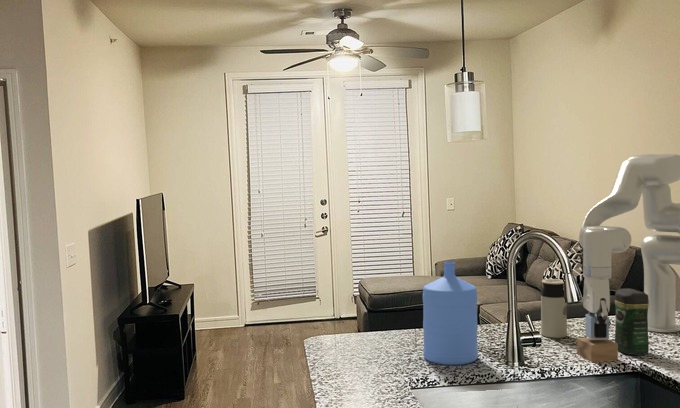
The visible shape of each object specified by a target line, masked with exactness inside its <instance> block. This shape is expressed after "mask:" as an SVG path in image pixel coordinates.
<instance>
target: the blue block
mask: <svg viewBox="0 0 680 408" xmlns="http://www.w3.org/2000/svg"><path fill="white" fill-rule="evenodd" d="M599 316H601V315H598V318H599ZM594 323H596V320H595V314H588V313H585V336H586V337H587V338H590V339H609V340H610V317H609V316H607V336H606V338H596V337H595V336H594Z"/></svg>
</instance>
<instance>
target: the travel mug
mask: <svg viewBox="0 0 680 408" xmlns="http://www.w3.org/2000/svg"><path fill="white" fill-rule="evenodd" d="M563 280H564V279H559V278H558V279H557V278H546V279H545V278H544V279H542V280H541V283H542V287H541V290H540V328H541V329H540V330H541V331H540V334H541V336H543V337H545V338H549V339H562V338H565V337H567V335H568V303H567V304H566V303H565V299H564V290H563Z"/></svg>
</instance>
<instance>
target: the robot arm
mask: <svg viewBox="0 0 680 408" xmlns="http://www.w3.org/2000/svg"><path fill="white" fill-rule="evenodd" d="M678 181H680V154H678V153H661V154H659V153H658V154H654V153H653V154H651V153H650V154H637V155H633V156H630V157H629V158H627V159H626V160H624V161H623V162H622V163H621V164H620V166H619V168H618V171H617V173H616V175H615V179H614V182H613V183H612V187H611V190H610V192H609V195H608V196H606V197H605V198H604V199H602V200H600V201H599V202H598V203H596V205H594V206H593V207H592V208H591V209H590V210H589V211H588V212H587V213H586V215H585V217H584V219H583V222H582V224H581V228H580V229H579V230H580V231H579V233H578V242H579V245H580V246H581V248H582V249H583V252H582V253H583V254H582V258H583V259H582V261H583V264H582V265H583V267H582V268H583V269H582V272H583V274H582V275H583V276H582V277H583V278H584V280H583V293H582V294H583V295H582V296H583V297H582V306H583V308H584V309H585V310H586V311H587V312H588V313H587V314H595V320H596V323H594V336H595V337H596V338H606V336H607V317H609V312H610V310H611V309H610V308H611V291H610V281H609V279H611V278H612V253H616V254H617V253H618V254H619V253H623V252H626V251H627V250H629V248H630V246H631V243H632V234H630V231H629V230H628V229H627V228H624V227H621V226H609V225H602V224H603V223H604V222H606V221H607V220H610V219H611V218H615V217H616V216H620V215H623V214H625V213H629V212H631V211H633V210H635V209H636V208H637V207H638V205H639V202H640V199H641V197H642V208H643V221H644V225H645V227H646V229H648V230H650V231H653V232H660V233H661V232H662V233H677V234H679V235H672V234H651V235H647V236H645V237H644V238H643V239H642V241H641V244H640V251H641V256H642V262H643V292H644V293H645V294H647V295H648V299H649V307H648V332H654V333H677V332H679V331H680V325H679V324H677V323H676V302H677V301H676V299H677V298H676V297H677V296H676V294H677V293H676V291H677V290H676V282H677V280H676V275H675V273H674V271H673V270H672V268H671V267H670V265H677V266H678V265H679V266H680V203H678V202H677V203H676V202H673V201H672V193H671V191H672V190H671V186H670V184H673V183H675V182H678ZM600 311H601V312H600ZM598 315H601V316H599V318H598Z"/></svg>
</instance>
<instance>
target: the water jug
mask: <svg viewBox="0 0 680 408" xmlns="http://www.w3.org/2000/svg"><path fill="white" fill-rule="evenodd" d="M443 264H444V267H443V273H444V274H443V276H442V277H440V278H438V279H435V280H433V281H432V282H429V283H427V284H426V285H424V286H423V288H422V303H423V304H422V305H423V308H422V309H423V313H422V314H423V316H422V319H423V321H422V328H423V349H422V351H423V352H422V354H423V357H424V359H426V360H427V361H428V362H430V363H434V364H439V365H445V366H446V365H447V366H460V365H461V366H462V365H466V364H467V365H468V364H471V363H473V362H475V361H477V359H478V356H479V355H478V354H479V350H478V326H479V324H478V293H477V291H478V290H477V286H475V285H473V284H472V283H469V282H468V281H465V280H463V279H461V278H459V277H457V276H456V266H455V264H456V262H454V261H445V262H443Z"/></svg>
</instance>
